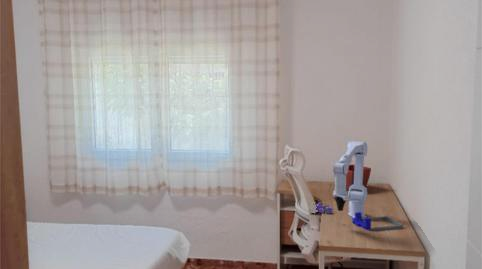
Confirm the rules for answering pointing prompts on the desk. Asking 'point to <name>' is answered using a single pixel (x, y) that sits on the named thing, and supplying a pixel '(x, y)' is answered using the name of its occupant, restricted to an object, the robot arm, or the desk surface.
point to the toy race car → (324, 208)
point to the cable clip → (361, 221)
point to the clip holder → (397, 226)
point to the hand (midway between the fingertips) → (340, 210)
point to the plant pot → (351, 176)
